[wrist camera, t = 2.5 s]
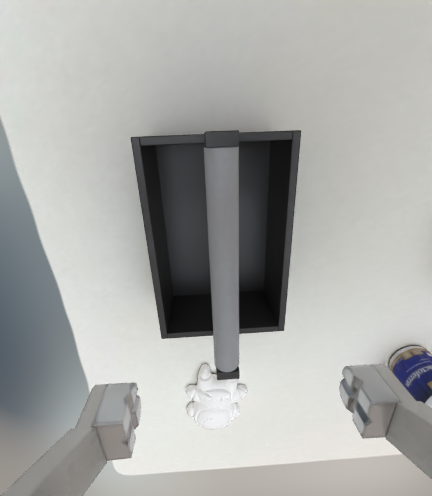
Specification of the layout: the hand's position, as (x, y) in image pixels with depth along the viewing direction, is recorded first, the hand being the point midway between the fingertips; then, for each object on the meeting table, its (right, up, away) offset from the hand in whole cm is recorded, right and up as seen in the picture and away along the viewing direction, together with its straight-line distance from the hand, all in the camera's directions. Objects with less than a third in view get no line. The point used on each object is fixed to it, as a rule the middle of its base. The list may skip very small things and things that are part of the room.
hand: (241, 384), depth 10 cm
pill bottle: (+27, -11, +28) cm, 40 cm away
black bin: (-1, +8, +18) cm, 20 cm away
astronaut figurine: (-1, -16, +28) cm, 33 cm away
